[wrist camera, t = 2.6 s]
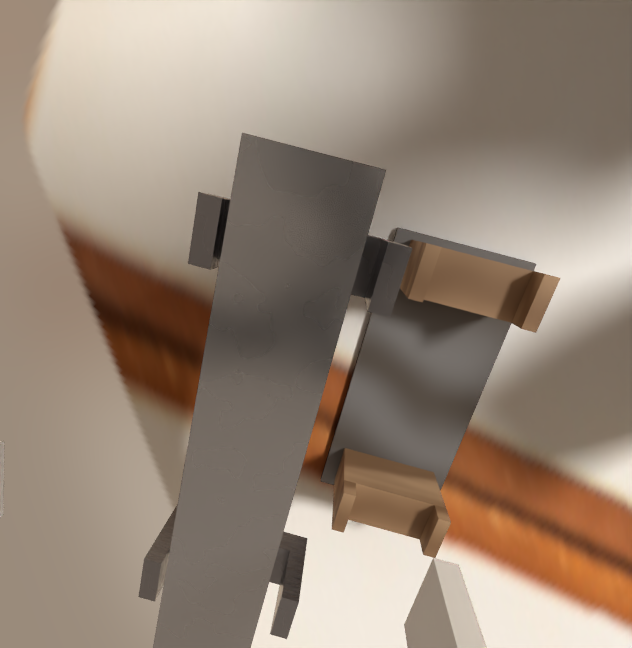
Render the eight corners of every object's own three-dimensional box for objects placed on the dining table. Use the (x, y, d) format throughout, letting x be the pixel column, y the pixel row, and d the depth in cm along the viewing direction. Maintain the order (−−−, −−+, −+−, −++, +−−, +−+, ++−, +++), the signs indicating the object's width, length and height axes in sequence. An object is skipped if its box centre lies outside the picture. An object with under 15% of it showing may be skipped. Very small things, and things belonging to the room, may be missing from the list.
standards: (276, 196, 23) (202, 166, 12) (384, 224, 23) (420, 223, 11) (224, 451, 29) (136, 608, 17) (310, 475, 29) (283, 650, 17)
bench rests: (397, 227, 23) (410, 228, 18) (533, 263, 23) (583, 273, 18) (321, 478, 29) (315, 530, 24) (430, 508, 29) (447, 567, 24)
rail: (272, 158, 14) (242, 132, 10) (375, 185, 13) (386, 169, 10) (187, 584, 20) (148, 672, 16) (258, 604, 20) (236, 697, 16)
